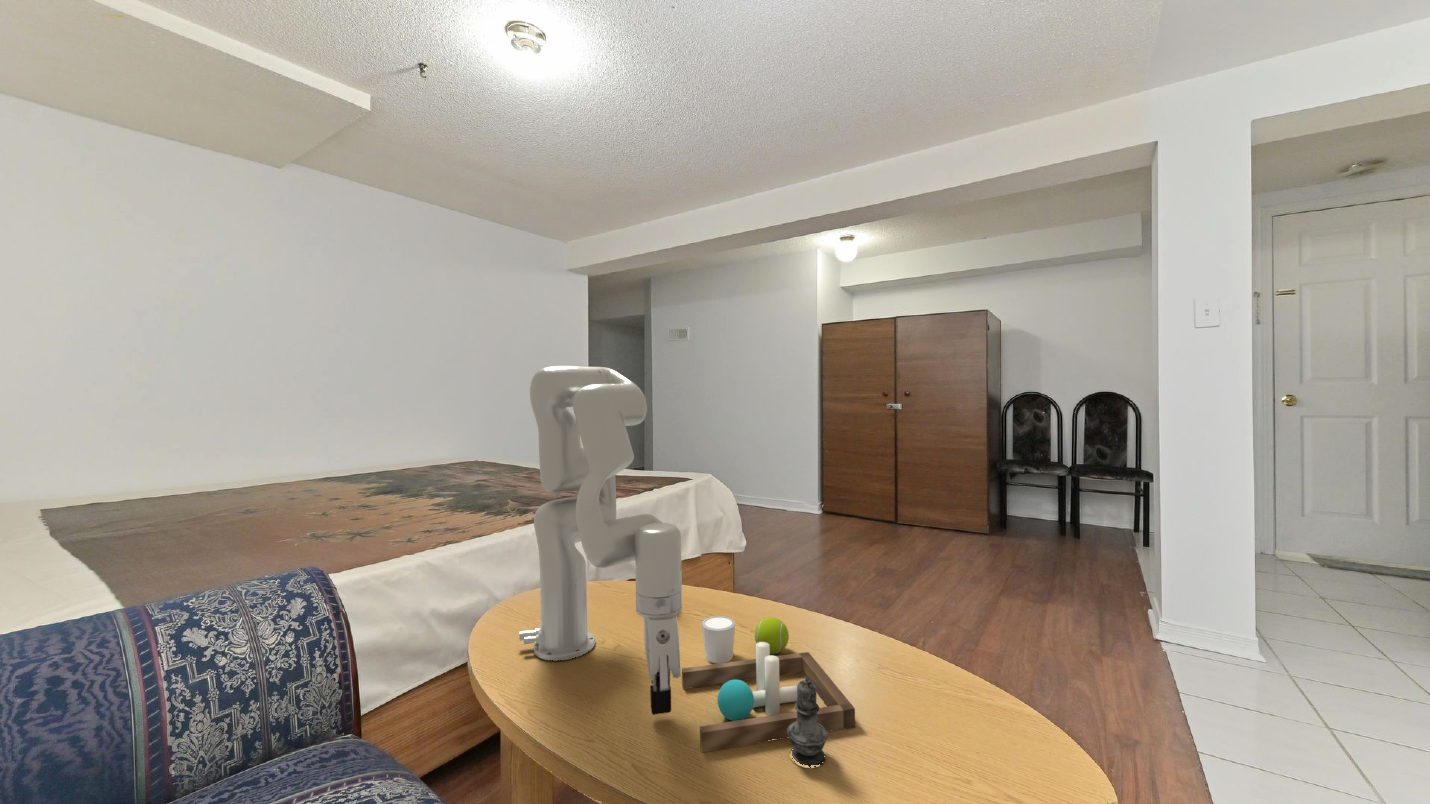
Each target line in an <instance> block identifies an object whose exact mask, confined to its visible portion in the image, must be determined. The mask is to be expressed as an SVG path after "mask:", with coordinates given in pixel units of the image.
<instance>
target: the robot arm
mask: <svg viewBox="0 0 1430 804" xmlns="http://www.w3.org/2000/svg"><path fill="white" fill-rule="evenodd" d="M529 398H530V399H529V401H530V404H531V408H532V413H533V415H534V418H535V421H536V426H537V432H538V455H539V456H538V457H539V460H538V461H539V463H538V464H539V475H540V477H539V478H540V482H541V486H542V487H543V489H544V491H546V492H548V493H550V494H551V493H552V494H560V493H561V494H563V493H570V492H578V493H577V496H571V497H564V498H559V499H554V500H550V501H548V502H546V503H543V504H542V505H540V506H539V507H538V508H537V509H536V511H535V512H534V517H533V527H534V531H535V536H536V537H535V538H536V541H537V546H538V557H539V558H538V559H539V579H540V580H539V582H540V583H539V584H540V588H539V589H540V626H539V627H535V629H532V630H529V629H527V630H520V631H519V635H518V636H519V641H523V645H529V644H530V645H531V644H533V643H534V645H533V652H534V655H535V656H536V657H538V658H539V659H542V660H545V661H550V660H551V662H553V661H554V662H558V660H559V662H560V660H561V661H569V660H573V659H576V658H578V657H581V656H583V654H584V655H585V654H588V653H589V652H590V651H591V650H592V649H593V648H594V647H595V645H596V636H595V635H594V633H593V632H592V631H589V629H588V626H589V625H588V624H589V623H588V587H587V586H588V584H587V583H588V582H587V581H588V579H587V577H588V576H587V562H586V560H585V557H586V559H587V560H588V561H589V563H590V564H591V565H593V566H594V567H596V568H601V569H607V568H610V567H615V566H619V565H622V564H626V563H629V562H633V561H635V562H634V563H635V567H634V568H635V608H636V609H635V611H636V613H637V615H639V616H641V617H643V637H644V638H643V640H644V641H643V642H644V651H645V658H646V664H647V670H648V675H649V677H650V678H649V679H650V680H651V681H650V682H651V685H650V687H649V689H650V710H651V714H652V715H660V714H661V715H662V714H668V713H671V711H672V687H671V675H672V676H673V677H672V678H673V679H675V678H676V679H679V678H680V676H682V671H681V661H680V660H681V658H680V656H681V655H680V637H679V636H680V635H679V623H678V614H679V613H680V612H681V611H682V610H683V593H682V592H683V590H682V589H683V587H682V586H683V583H682V581H683V580H682V535H681V530H680V529H679V527H678V526H677V525H675V524H672V523H668V522H667V523H666V522H663V521H661V520H660V519H659V518H657V517H656V516H654V515H652V514H648V513H644V514H642V513H641V514H637V515H632V516H625V517H620V518H617V495H616V494H617V491H616V490H617V489H616V488H617V487H616V484H617V483H616V475H617V474H619V473H620V472H622V471H623V470H625V469H626V468H628V467H629V466H631V464H632V463H633V461H634V460H635V459H634V458H635V455H634V450H633V448H632V445H631V441H630V437H629V434H628V431H627V427H629V426H638V425H639V424H642V423H643V422H644V420H645V419H646V416H647V414H648V413H647V412H648V404H647V399H646V396H645V393H643V391H642V389H641V388H640V387H639V386H638V385H637V384H636V383H635V382H633V381H632V380H630V379H628V377H625V376H624V375H622V374H621V373H619V372H618V371H617V370H614V369H612V368H609V367H603V366H581V365H579V366H578V365H556V366H555V365H553V366H547V367H543V368H541V369H539V370H537V371H536V372H535V373H534V374H533V376H532V378H531V381H530V387H529ZM568 408H572V410H573V413H574V415H573V413H572V412H571V411H570V410H569V409H568ZM579 542H580V543H581V546H582V549H583V552H584V554H585V557H584V556H583V554H582V553H581V551H579V550H578V549H577V547H576V543H579ZM588 651H589V652H588ZM575 657H576V658H575ZM572 658H573V659H572ZM552 660H553V661H552Z"/></svg>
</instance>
